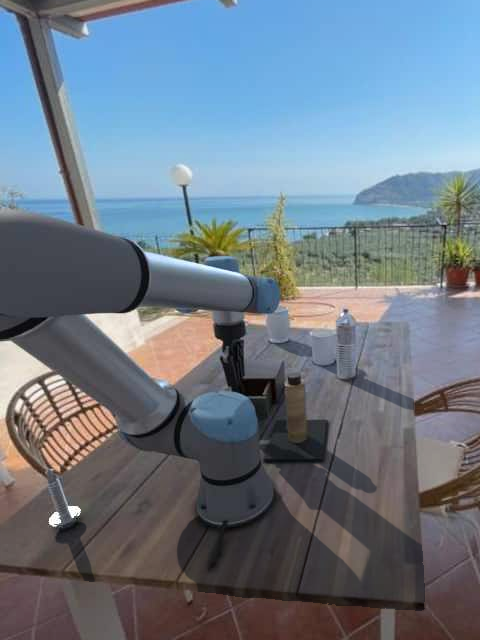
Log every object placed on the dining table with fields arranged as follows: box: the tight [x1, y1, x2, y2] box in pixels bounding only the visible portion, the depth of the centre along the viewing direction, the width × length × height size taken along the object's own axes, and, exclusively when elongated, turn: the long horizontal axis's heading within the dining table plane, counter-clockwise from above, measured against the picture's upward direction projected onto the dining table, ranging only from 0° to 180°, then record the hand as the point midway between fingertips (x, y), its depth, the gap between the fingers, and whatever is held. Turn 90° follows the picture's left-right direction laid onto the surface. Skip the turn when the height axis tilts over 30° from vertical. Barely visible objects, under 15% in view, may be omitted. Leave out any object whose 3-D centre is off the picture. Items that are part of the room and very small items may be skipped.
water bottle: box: [335, 307, 357, 381], centre depth 135 cm, size 7×7×25 cm
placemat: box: [263, 419, 328, 463], centre depth 102 cm, size 18×14×1 cm
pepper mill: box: [283, 372, 308, 443], centre depth 99 cm, size 5×5×18 cm
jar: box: [264, 305, 291, 344], centre depth 173 cm, size 11×10×15 cm
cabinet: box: [243, 358, 286, 404], centre depth 126 cm, size 16×14×9 cm
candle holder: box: [309, 328, 336, 366], centre depth 150 cm, size 10×10×12 cm
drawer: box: [228, 381, 274, 421], centre depth 113 cm, size 19×12×7 cm, turn 1°
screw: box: [44, 468, 81, 530], centre depth 73 cm, size 13×5×5 cm
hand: (239, 405), depth 104 cm, fingers closed
